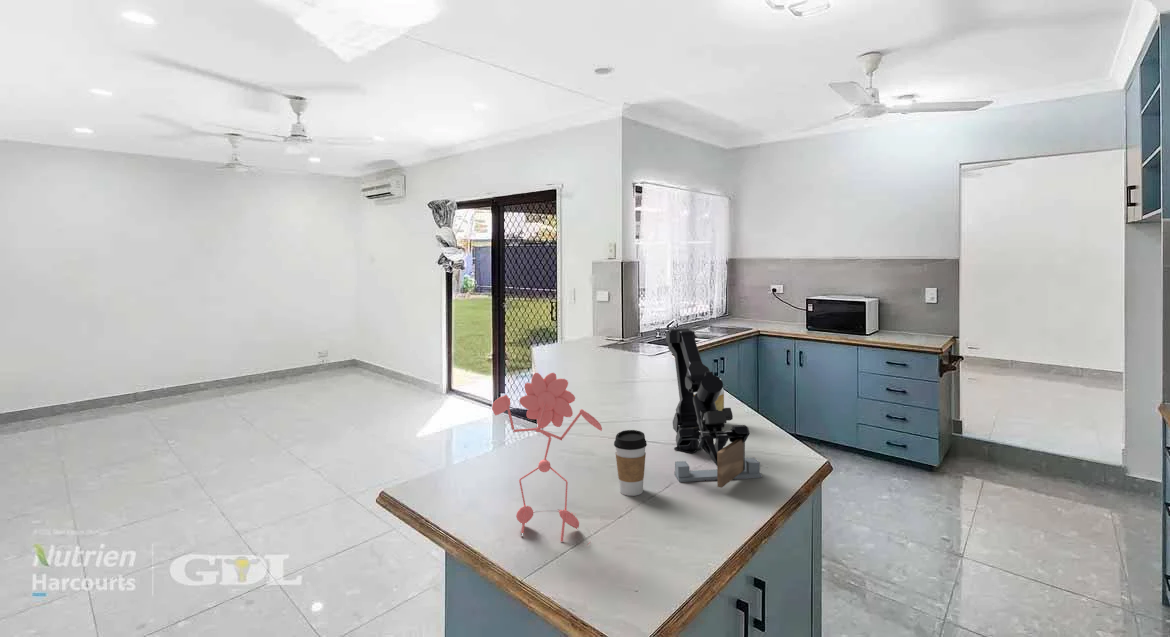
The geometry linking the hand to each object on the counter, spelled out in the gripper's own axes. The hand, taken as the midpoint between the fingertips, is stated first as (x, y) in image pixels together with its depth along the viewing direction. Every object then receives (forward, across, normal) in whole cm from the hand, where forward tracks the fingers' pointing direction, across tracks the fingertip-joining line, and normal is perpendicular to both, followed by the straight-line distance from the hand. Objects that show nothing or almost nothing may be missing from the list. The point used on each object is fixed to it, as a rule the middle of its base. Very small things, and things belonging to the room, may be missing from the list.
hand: (719, 465), depth 139 cm
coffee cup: (+4, -23, +5) cm, 24 cm away
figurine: (+15, -43, -6) cm, 46 cm away
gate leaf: (+1, +4, +5) cm, 7 cm away
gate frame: (-1, +2, +10) cm, 10 cm away
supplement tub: (-34, +14, +45) cm, 58 cm away
